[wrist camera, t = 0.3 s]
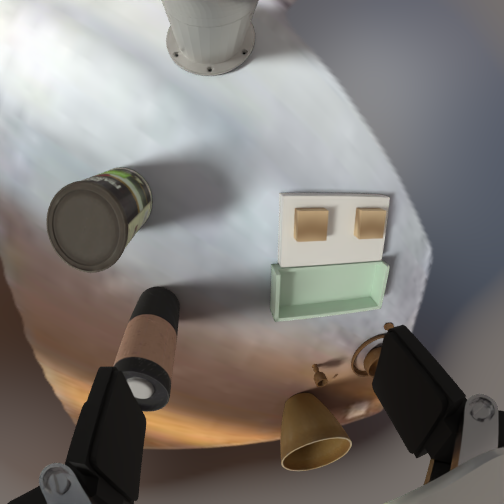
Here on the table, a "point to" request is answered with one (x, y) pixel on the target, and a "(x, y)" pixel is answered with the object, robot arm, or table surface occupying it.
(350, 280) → the tray
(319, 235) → the tile
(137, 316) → the travel mug
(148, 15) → the table surface
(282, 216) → the board
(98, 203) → the coffee can
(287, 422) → the plant pot
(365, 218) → the tile
